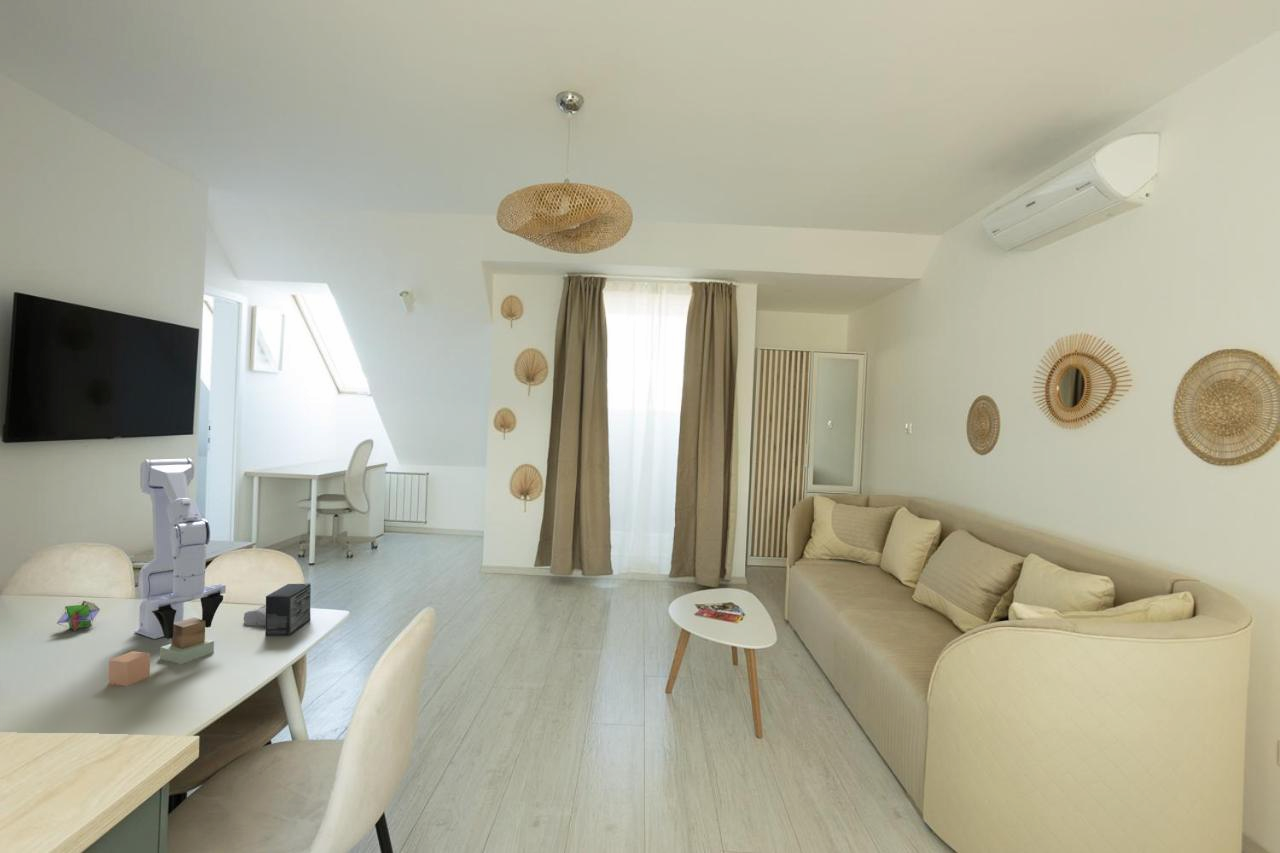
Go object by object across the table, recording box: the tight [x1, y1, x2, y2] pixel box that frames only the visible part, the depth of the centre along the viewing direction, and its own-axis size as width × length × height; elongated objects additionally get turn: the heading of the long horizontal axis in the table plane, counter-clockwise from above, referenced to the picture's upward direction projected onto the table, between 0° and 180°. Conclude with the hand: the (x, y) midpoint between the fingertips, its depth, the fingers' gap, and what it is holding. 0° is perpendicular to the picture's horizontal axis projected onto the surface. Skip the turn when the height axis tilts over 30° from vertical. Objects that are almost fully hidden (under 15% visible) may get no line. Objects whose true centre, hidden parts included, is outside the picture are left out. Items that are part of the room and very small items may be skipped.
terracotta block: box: [108, 650, 151, 687], centre depth 115 cm, size 4×4×5 cm
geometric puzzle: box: [56, 600, 101, 633], centre depth 140 cm, size 7×7×8 cm
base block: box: [159, 638, 215, 665], centre depth 127 cm, size 7×7×3 cm
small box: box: [264, 583, 312, 637], centre depth 145 cm, size 11×6×10 cm, turn 5°
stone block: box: [243, 604, 266, 627], centre depth 152 cm, size 12×5×10 cm
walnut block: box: [170, 617, 206, 649], centre depth 128 cm, size 4×4×5 cm
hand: (187, 632), depth 127 cm, fingers open, 7 cm apart
